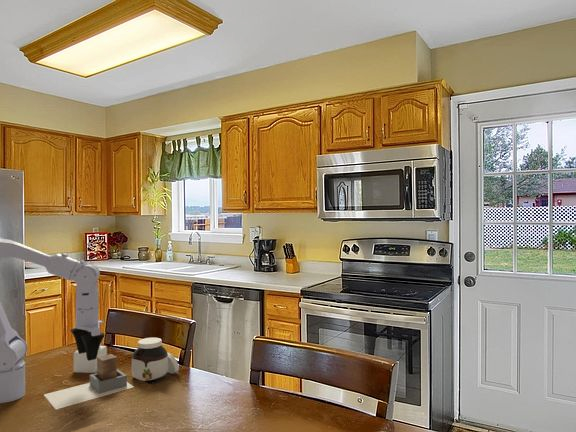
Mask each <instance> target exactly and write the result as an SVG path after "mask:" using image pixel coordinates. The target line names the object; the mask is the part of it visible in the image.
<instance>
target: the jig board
mask: <svg viewBox="0 0 576 432" xmlns="http://www.w3.org/2000/svg"><path fill="white" fill-rule="evenodd" d="M127 378H128V375H127V374H126V373H124V372H123V371H121V370H120V369H118V368H117V377H115V378H111V379H107V380H103V381H100V380H99V379H98V378H97V372H96V373H91V374H89V382H87V383H84V384H83V383H82V384H80V385H79V384H78V385H76V386H71V387H68V388H65V389H64V388H63V389H60V390H56V391H52V392H48V393H46V394H43V396H44V397H45V399H46V400H47V401H48V402H49V403H50V405H52V407H53V408H54V410H60V409H63V408H66V407H71V406H74V405H77V404H80V403H84V402H88V401H91V400H94V399H98V398H101V397H104V396H109V395H112V394H115V393H118V392H122V391H126V390H129V389H133V388H135V386H133V385H132V384H131V383H129V381H128V380H127Z"/></svg>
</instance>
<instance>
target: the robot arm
mask: <svg viewBox="0 0 576 432" xmlns="http://www.w3.org/2000/svg"><path fill="white" fill-rule="evenodd" d="M9 258H10V259H11V258H16V259H19V260H22V261H25V262H29V263H32V264H35V265H38V266H42V267H45V269H46V271H47V273H48V274H51V275H53V276H55V277H60V278H62V279H64V280H67V281H71V282H72V281H74V284H75V285H76V291H75V324H74V327H75V328H71V329H70V332H71V333H72V335H73V338H74V340H75V344H76V348H77V350H78V353H79V354H81V353H86V356H87V360H88V361H90V360H94V359H96V358H97V354H98V350H99V346H100V343H101V344H102V341H103V339H104V337H105V333H103V332H101V327H100V325H103V324H104V322H103V321H102V320H99V297H100V295H99V292H100V291H99V282H98V280H99V278H100V275H101V274H100V273H101V271H100V269H99V268H98V266H97V265H95V264H93V263H91V262H88V263H86V261H85V260H83V259H82V260H77V259H74V258H73V257H69V255H68V253H65V252H63V253H56V254H53V255H50V254H48V253H44V252H42V251H40V250H37V249H35V248H33V247H30V246H27V245H25V244H23V243H20V242H17V241H15V240H13V239H9V238H5V239H4V238H3V237H1V236H0V261H1V260H2V259H9ZM27 352H28V343H27V342H26V341H25V340H24V339H23V338H21V336H20V335H19V333H18V331H17V330H15V329H14V328H12V326H11V324H10V322H9V319H8V317H7V314H6V312H5V310H4V308H3V305H2V302H0V404H4V403H9V402H10V403H11V402H13V401H16V400H19V399H21V398H23V397H25V395H26V361H25V360H24V356H25V355H26V354H27Z"/></svg>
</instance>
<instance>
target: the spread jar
mask: <svg viewBox="0 0 576 432" xmlns="http://www.w3.org/2000/svg"><path fill="white" fill-rule="evenodd" d="M162 344H163V341H162V338H159V337H145V338H142V339H139V340H138V342H137V349H135V351H134V352H133V353H132V356H131V373H132V377H133V379H134V380H137V381H141V382H142V381H143V382H145V383H147V384H155V383H158V382H160V381H161V380H162V379H164V378H165V377H166V375H167V373H169V374H171V375H174V374H175V373H177V372H178V371H179V363H178V361H177V360H176V358H175V357H174V355H173V354H172V353H170V352H168V351H167V349H166V348H165V347H164V345H162Z"/></svg>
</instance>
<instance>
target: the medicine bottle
mask: <svg viewBox="0 0 576 432" xmlns="http://www.w3.org/2000/svg"><path fill="white" fill-rule="evenodd" d="M107 348H108V347H107V346H106V345H102V342H101V343H100V346H99V350H98V354H97V357H100V356H104V355H108V354H107V353H108V352H107V350H108V349H107ZM73 373H87V374H96V373H97V358H96V359H94V360H90V361H88V360H87V356H86V353H81V354H79V353H78V349H77V350H75V351H74V352H73Z"/></svg>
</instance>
